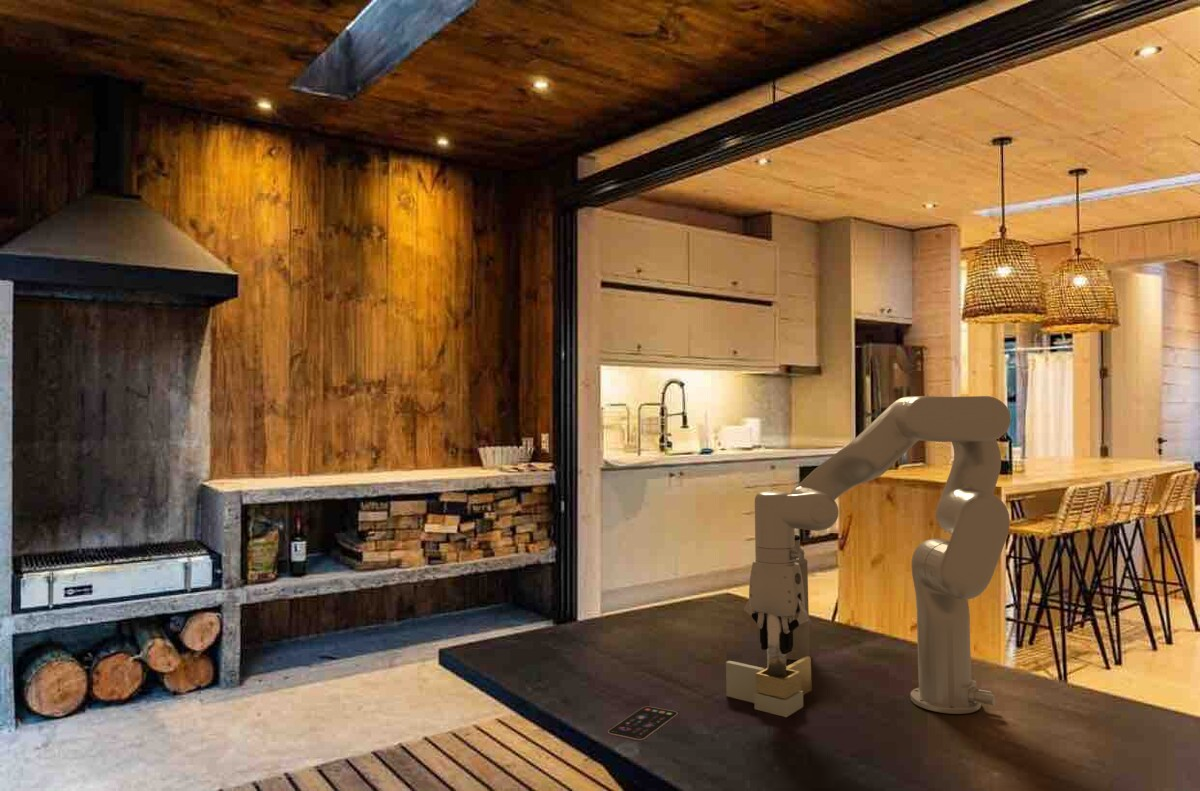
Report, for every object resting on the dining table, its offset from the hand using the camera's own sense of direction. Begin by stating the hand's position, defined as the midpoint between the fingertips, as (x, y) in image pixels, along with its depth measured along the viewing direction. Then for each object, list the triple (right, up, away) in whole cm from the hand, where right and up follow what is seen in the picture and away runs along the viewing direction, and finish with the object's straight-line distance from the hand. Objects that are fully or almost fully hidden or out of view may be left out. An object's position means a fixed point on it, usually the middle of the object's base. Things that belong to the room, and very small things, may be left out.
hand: (776, 649), depth 156 cm
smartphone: (-26, -12, -6) cm, 29 cm away
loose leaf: (-3, -11, +2) cm, 12 cm away
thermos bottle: (+11, -12, +33) cm, 37 cm away
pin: (0, -5, 0) cm, 5 cm away
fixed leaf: (+4, -11, +3) cm, 12 cm away
